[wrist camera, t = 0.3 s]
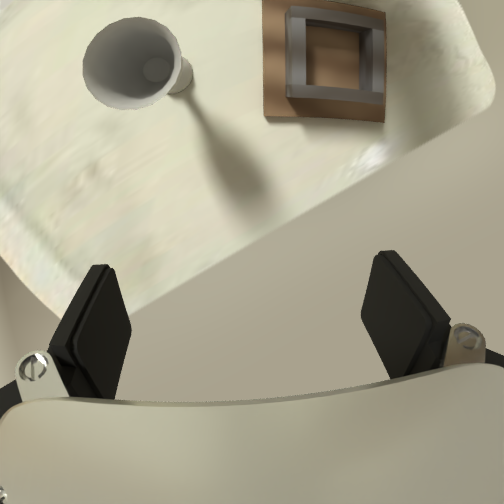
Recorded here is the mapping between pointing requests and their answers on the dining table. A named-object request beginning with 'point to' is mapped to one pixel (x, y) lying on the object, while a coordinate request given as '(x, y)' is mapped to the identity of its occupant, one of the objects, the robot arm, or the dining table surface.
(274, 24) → the socket block
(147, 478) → the robot arm
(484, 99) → the dining table surface
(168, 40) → the chalice
